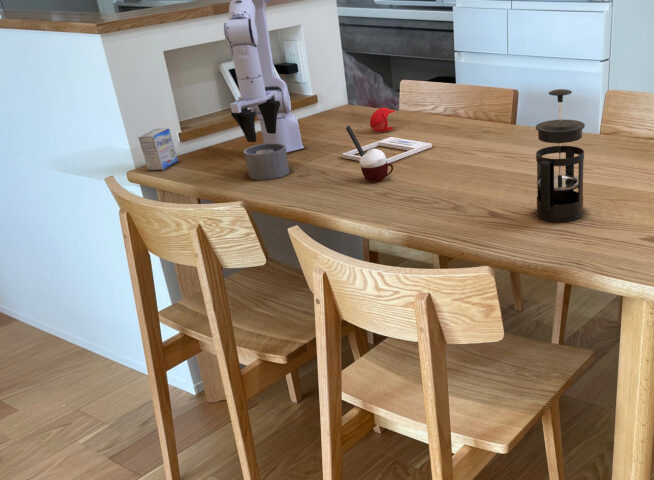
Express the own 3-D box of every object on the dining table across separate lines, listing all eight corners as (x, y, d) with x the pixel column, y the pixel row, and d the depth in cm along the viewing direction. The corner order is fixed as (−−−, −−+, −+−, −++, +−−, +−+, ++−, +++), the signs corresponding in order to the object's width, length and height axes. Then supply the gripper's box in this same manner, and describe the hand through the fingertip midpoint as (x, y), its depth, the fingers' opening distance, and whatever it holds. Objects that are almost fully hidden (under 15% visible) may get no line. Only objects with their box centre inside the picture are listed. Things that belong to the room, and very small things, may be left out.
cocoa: (398, 178, 174) (392, 125, 168) (379, 186, 170) (372, 131, 164) (370, 172, 179) (363, 120, 173) (350, 179, 175) (342, 127, 169)
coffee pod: (267, 168, 186) (263, 148, 184) (281, 169, 185) (277, 149, 182) (256, 173, 183) (251, 153, 180) (270, 174, 181) (266, 154, 179)
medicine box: (163, 170, 193) (153, 136, 188) (147, 170, 193) (137, 136, 189) (178, 161, 199) (169, 127, 194) (163, 161, 200) (154, 128, 195)
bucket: (277, 165, 190) (272, 141, 187) (297, 172, 183) (292, 147, 180) (242, 174, 185) (236, 150, 182) (260, 182, 178) (255, 157, 175)
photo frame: (431, 142, 194) (382, 160, 183) (431, 147, 195) (382, 165, 183) (391, 136, 202) (341, 153, 191) (391, 140, 203) (342, 157, 192)
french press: (550, 202, 153) (550, 82, 141) (593, 208, 149) (596, 85, 137) (523, 221, 145) (520, 96, 133) (567, 228, 141) (568, 99, 128)
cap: (382, 135, 209) (379, 112, 206) (366, 132, 212) (363, 110, 209) (401, 128, 214) (398, 106, 211) (385, 126, 217) (382, 104, 214)
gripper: (255, 70, 179) (267, 128, 186) (214, 83, 168) (228, 144, 175) (279, 70, 176) (290, 130, 184) (239, 83, 166) (253, 146, 173)
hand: (262, 137), depth 179 cm, fingers open, 7 cm apart
